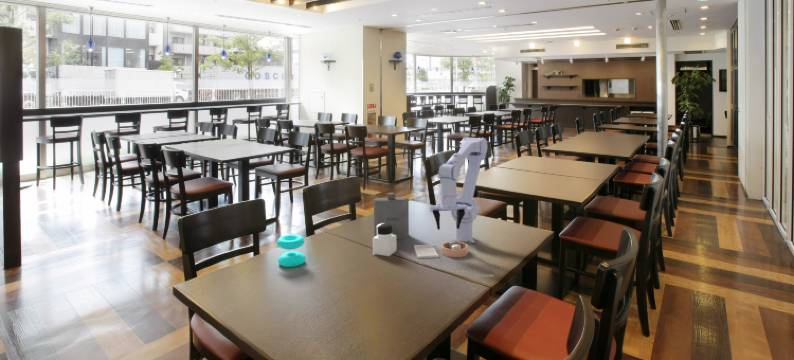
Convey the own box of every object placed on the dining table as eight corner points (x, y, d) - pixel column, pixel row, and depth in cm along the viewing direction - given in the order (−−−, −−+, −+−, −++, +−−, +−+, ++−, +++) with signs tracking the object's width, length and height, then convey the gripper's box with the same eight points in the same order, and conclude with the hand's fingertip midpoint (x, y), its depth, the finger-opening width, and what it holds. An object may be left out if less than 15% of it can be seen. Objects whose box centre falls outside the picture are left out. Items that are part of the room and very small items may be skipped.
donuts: (300, 242, 165) (273, 242, 166) (302, 268, 167) (275, 268, 168) (307, 233, 175) (281, 233, 175) (308, 258, 177) (282, 258, 178)
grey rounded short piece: (448, 249, 183) (448, 240, 182) (456, 248, 184) (457, 240, 183) (450, 252, 180) (450, 243, 179) (459, 252, 180) (459, 243, 179)
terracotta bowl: (439, 250, 184) (439, 241, 183) (464, 249, 185) (464, 240, 184) (444, 259, 174) (444, 250, 174) (470, 258, 175) (470, 249, 174)
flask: (375, 241, 195) (374, 195, 191) (373, 237, 201) (372, 192, 196) (410, 239, 197) (409, 194, 193) (407, 235, 203) (407, 190, 199)
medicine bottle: (396, 252, 183) (396, 222, 180) (389, 258, 176) (388, 228, 174) (380, 249, 186) (380, 220, 183) (372, 255, 179) (371, 225, 177)
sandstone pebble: (450, 253, 179) (450, 244, 178) (459, 252, 179) (459, 244, 178) (452, 256, 175) (452, 247, 175) (461, 256, 176) (461, 247, 175)
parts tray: (414, 248, 186) (414, 245, 186) (433, 248, 186) (433, 244, 186) (417, 260, 174) (417, 256, 174) (438, 259, 175) (438, 255, 174)
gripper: (431, 197, 174) (431, 232, 177) (469, 196, 175) (468, 231, 178) (428, 193, 181) (428, 226, 183) (465, 192, 182) (464, 225, 185)
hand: (448, 228), depth 181 cm, fingers open, 7 cm apart
